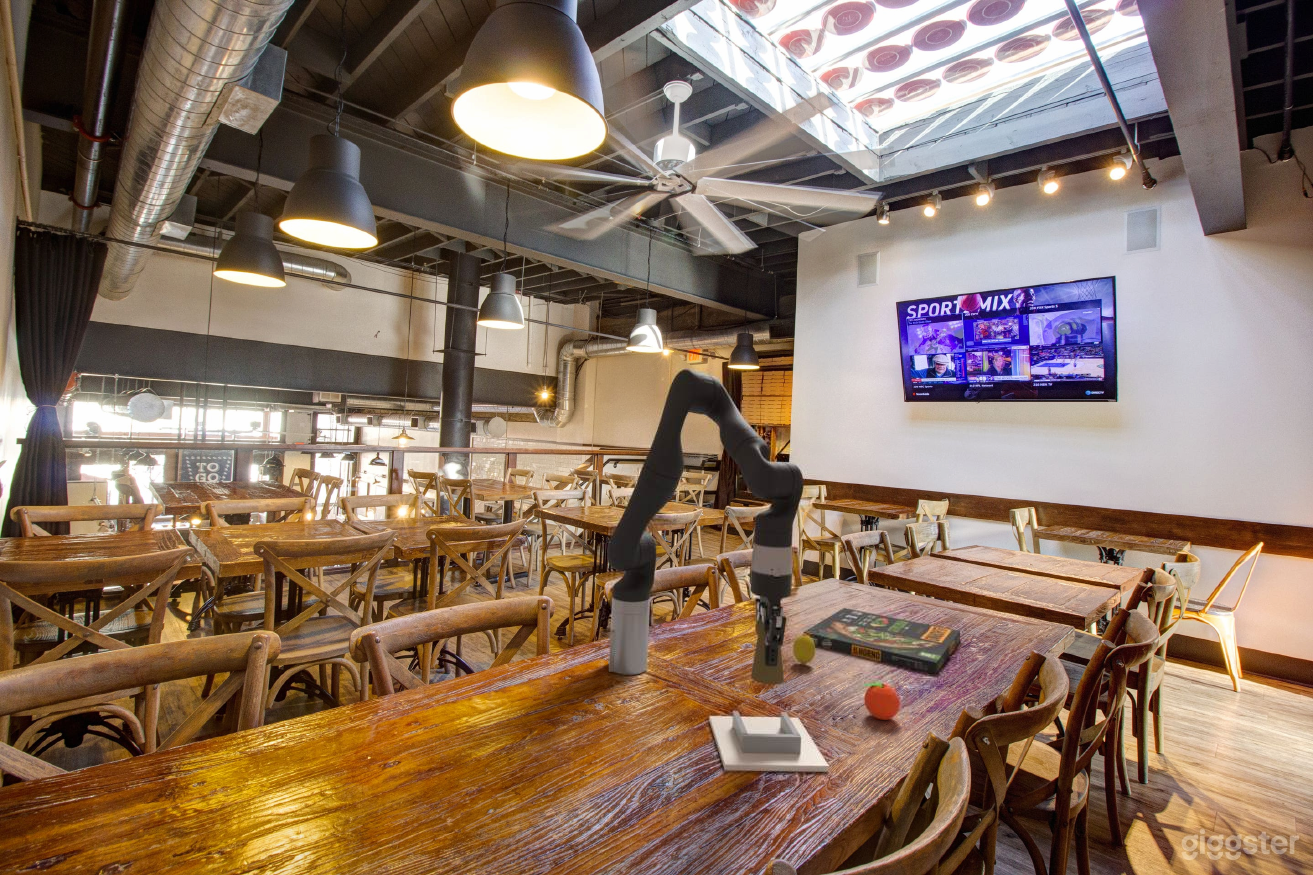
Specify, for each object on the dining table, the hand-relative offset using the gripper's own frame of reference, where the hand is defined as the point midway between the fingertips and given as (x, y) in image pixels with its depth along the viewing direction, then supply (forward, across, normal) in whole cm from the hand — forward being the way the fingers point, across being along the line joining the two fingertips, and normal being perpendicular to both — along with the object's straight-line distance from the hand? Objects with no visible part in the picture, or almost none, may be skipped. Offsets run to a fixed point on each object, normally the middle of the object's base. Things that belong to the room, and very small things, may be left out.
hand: (767, 660), depth 112 cm
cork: (+3, 0, 0) cm, 3 cm away
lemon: (+16, -41, +20) cm, 48 cm away
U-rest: (+16, 0, 0) cm, 16 cm away
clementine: (+16, -12, +27) cm, 33 cm away
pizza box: (+16, -61, +50) cm, 81 cm away
